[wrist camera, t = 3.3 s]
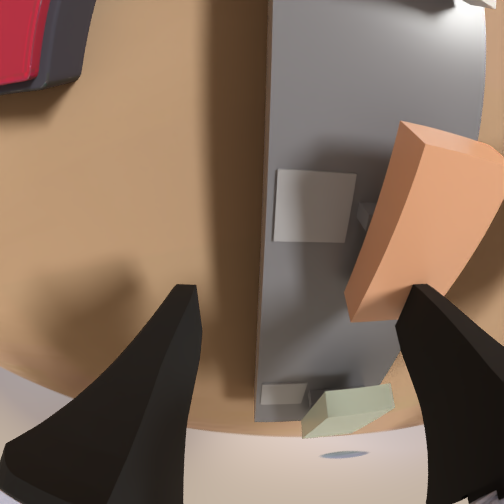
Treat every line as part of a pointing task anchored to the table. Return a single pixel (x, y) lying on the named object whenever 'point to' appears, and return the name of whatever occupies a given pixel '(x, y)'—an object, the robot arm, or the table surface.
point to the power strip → (344, 173)
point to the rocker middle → (424, 219)
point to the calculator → (42, 42)
